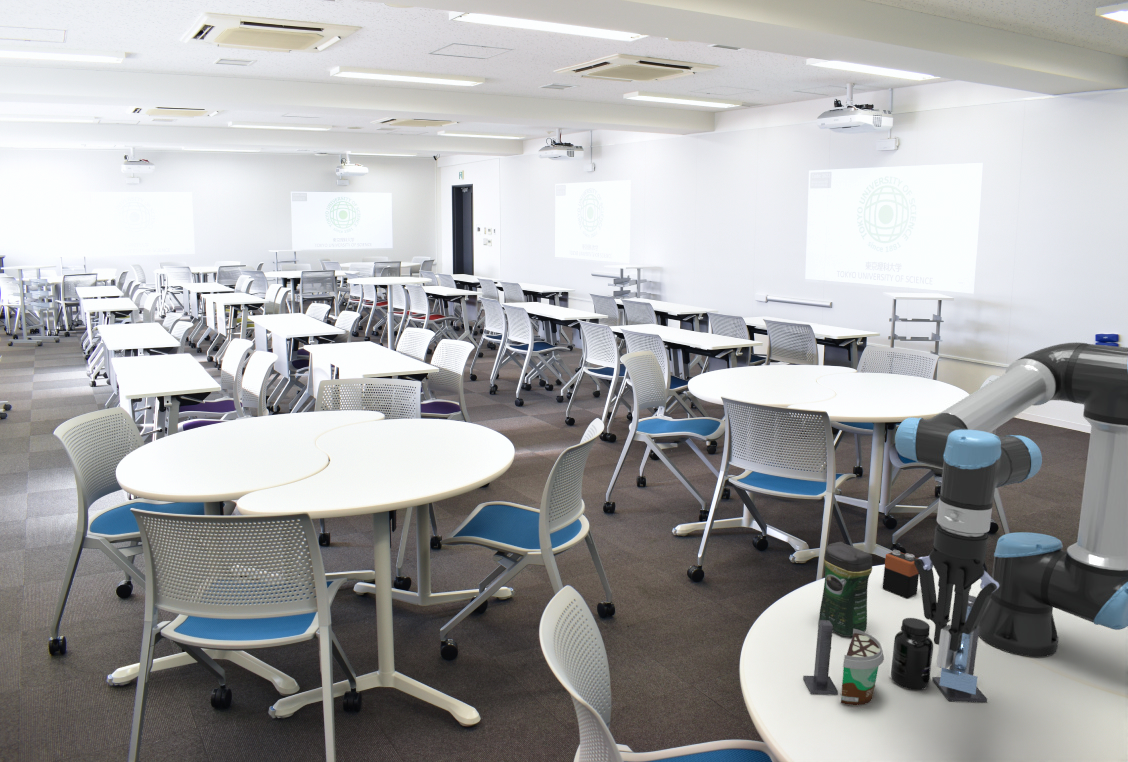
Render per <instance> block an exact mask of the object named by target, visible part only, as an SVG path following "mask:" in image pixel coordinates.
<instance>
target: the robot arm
mask: <svg viewBox="0 0 1128 762" xmlns="http://www.w3.org/2000/svg"><path fill="white" fill-rule="evenodd" d="M1050 401H1063V402H1069V403H1070V402H1071V403H1075V404H1079V405H1083V415H1082V417H1083V419H1085V420H1086V421H1087V422H1088V423H1089V425H1090V435H1089V443H1088V451H1087V458H1086V465H1085V466H1086V467H1085V476H1084V485H1083V492H1082V499H1081V506H1080V518H1079V525H1078V532H1077V540H1076V541H1077V542H1075V543H1072V544H1071V545H1069V546H1067V548H1066V550H1064V549H1063V548H1064V546H1063V543H1062V540H1060V539H1059V538H1057V537H1055V536H1053V535H1048V534H1044V533H1038V532H1025V531H1023V532H1022V531H1021V532H1010V533H1006V534H1003V535H1001V536H1000V537H999V538H998V539H997V543H996V547H995V550H994V551H995V552H994V553H993V565H992V566H993V567H992V573H991V575H990V574H989V573H988V567H987V565H986V558H987V557H986V556H987V550H988V544H989V534H988V532H989V531H990V528H991V519H992V513H993V512H992V511H993V505H994V504H993V503H994V499H995V498H994V497H995V491H996V489H997V488H1000V487H1001V488H1002V487H1004V486H1009V485H1014V484H1020V483H1023V482H1025V481H1027V480H1028V479H1031V478H1033V477H1035V476H1036V475H1037V474H1038V472H1039V471H1040V470H1041V468H1042V465H1043V458H1042V457H1043V455H1042V452H1041V449H1040V447H1039V446H1038V445H1037V443H1036V442H1035V441H1034V440H1032V439H1030V438H1029V437H1027V436H1023V435H1017V434H1016V435H1013V434H1009V435H1004V436H999V435H996V434H994V433H992V432H993V431H995V430H996V429H998V428H1000V427H1001V426H1002V425H1004V424H1006V423H1007V422H1008V421H1011V420H1012V419H1013V418H1014V417H1016V416H1018V415H1019V414H1021V413H1022V412H1024V411H1026V410H1027V409H1028V408H1031V407H1032V406H1041V405H1044V404H1047V403H1048V402H1050ZM894 442H895V445H894V446H895V449H896V452H897V453H898V454H899V456H901V457H904V458H906V459H908V460H912V461H915V463H919V464H920V463H921V464H925V465H929V466H934V467H937V468H941V469H942V474H941V483H940V484H941V486H940V493H939V499H938V505H937V506H938V507H937V514H936V522H937V525H935V529H934V536H933V537H934V539H933V549H932V550H931V551H930V553H929V555H928V556H927V555H923V556H920V557H917V558H918V559H916V560H915V561H914V564H915V566H916V569H917V571H918V573H919V585H920V591H921V592H920V594H921V599H922V600H921V601H922V607H923V616H924V618H925V619H926V620H930V621H931V622H933V624H934V627H935V628H934V636H933V644H935V645H937V646H938V650H937V659H936V663H935V664H936V665H935V666H936V667H937V668H939V669H942V668H946V669H949V667H950V666H951V665H952V661H953V655H954V652H956V651H957V650H959V649H960V647H961V641H962V634H963V633H965V634H970V633H971V632H973V631H974V630H975V629H976V628H977V627H978V628H979V635H978V638H980V639H982V640H983V641H984V642H985V643H987V644H988V645H990V646H992V647H994V648H996V649H999V650H1002V651H1004V652H1007V653H1011V654H1013V655H1014V654H1015V655H1018V656H1023V657H1031V658H1042V657H1043V658H1044V657H1050V656H1052V655H1054V654H1056V653H1057V650H1058V646H1059V635H1058V632H1057V627H1056V623H1055V618H1054V614H1053V610H1054V609H1057V610H1059V611H1063V612H1064V613H1067V614H1069V615H1072V616H1075V617H1077V618H1080V619H1082V620H1085V621H1088V622H1090V623H1092V624H1094V625H1098V626H1102V627H1105V628H1108V629H1111V630H1115V631H1120V630H1124V629H1126V628H1127V627H1128V347H1127V346H1126V347H1125V346H1114V345H1104V344H1103V345H1102V344H1091V343H1085V342H1065V343H1059V344H1055V345H1050V346H1046V347H1043V348H1041V349H1038V350H1035V351H1033V352H1030V353H1028V354H1026V355H1024V356H1022V357H1020V358H1017V359H1016V360H1015V361H1013V362H1011V364H1009V365H1008V367H1007V368H1006V370H1005V372H1004V374H1002V375H1000V376H999V377H997V378H995V379H993V380H992V381H991V382H989V383H987V384H985V385H984V386H982V387H981V388H979V389H977V390H976V391H974V392H972V393H971V394H969V395H967V396H965V397H964V398H962V399H960V400H959V401H958V402H955V403H953V404H952V405H951V406H949V407H948V408H946V409H944V410H942V411H941V412H939V413H938V414H936V415H933V417H931V418H929V419H924V418H923V417H919V418H918V417H907V418H906V419H904V420H902V422H901V423H900V424H898V428H897V430H896V433H895V436H894ZM933 568H934V570H935V572H936V574H937V576H938V582H937V583H938V584H937V585H938V593H937V591H936V586H935V585H936V583H935V578H934V576H935V575H934V570H933ZM978 580H981V582H980V584H979V585H980V590H979V592H978V594H977V596H976V597H977V598H976V600H975V602H974V604H973V607H972V609H971V611H970V613H969V615H968V618H967V620H966V613H967V606H968V599H969V595H970V592H971V589H972V585H974V584H975V583H976V582H978ZM953 591H954V600H953V605H952V599H953ZM936 593H937V594H936ZM951 606H953V607H951ZM951 608H952V615H951V614H950V613H951ZM950 615H951V619H950ZM965 621H966V622H965ZM949 622H951V623H950V624H948V623H949ZM979 622H980V623H979Z"/></svg>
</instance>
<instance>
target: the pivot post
mask: <svg viewBox="0 0 1128 762" xmlns="http://www.w3.org/2000/svg"><path fill="white" fill-rule="evenodd" d="M978 642H979V628H978V627H977V628H976V629H975V630H974V632H973V640H972V648H971V656H970V664H969V672H968V674H969V675H973V676H974V674H975V673H974V672H975V664H976V657H977V649H978ZM953 656H954V655H953ZM951 667H952V665H951V666H949V667H948V669H950V670H951ZM931 681H932V683H933V684H934V685H935V687H937V689H938V690H939V692H940V693H942V695H943V696H944V698H945V699H946V700H947V702H956V703H981V704H988V698H987V696H986V695H985V694H984V693H983V692H982V691H981V690H980V688H978V685H977V686H976V694H971V693H967V692H964V691H960V690H956V689H952V688H949V687H945V686H941V685H940V676H932V677H931Z"/></svg>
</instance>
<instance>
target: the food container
mask: <svg viewBox="0 0 1128 762" xmlns="http://www.w3.org/2000/svg"><path fill="white" fill-rule="evenodd" d="M851 637H852V638H851V641H850V643H849V646H848V649H847V652H846V655H845V654H844V657H843V663H842V665H843V666H842V668H843V671H842V682H841V683H842V685H841V694H840V695H841V696H840V704H842V705H846V706H864V705H865V706H866V705H867V704H870V703H871V701H873V698H874V694H875V693H874V691H875V688H876V684H877V682H876V681H877V678H878V677H877V676H878V672H879V666H881V665H882V664H883V663H884V660H885V656H884V650H883V647H882V645H881V643H880V641H879V640H878V639H877V638H876V637H875V636H873V635H871V634H869V633H868V632H866V631H865V632H863V631H860V630H857V629H853V636H851Z"/></svg>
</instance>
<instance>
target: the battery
mask: <svg viewBox="0 0 1128 762" xmlns="http://www.w3.org/2000/svg"><path fill="white" fill-rule="evenodd" d="M918 558H919V557H915V555H914V554H912V553H903V552H901V551H900V550H897V549H893V550H892V552H889V553H886V554H885V559H884V569H883V577H882V578H883V579H882V589H883V590H885V591H887V592H890V593H892V594H895V595H897V596H899V595H900V596H899V597H902V598H905V599H909V598H912V597H914V596H916V595H917V594H918V587H919V580H920V578H919V573H918V571H917V569H916V566H915V564H914V561H915V560H916V559H918Z"/></svg>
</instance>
